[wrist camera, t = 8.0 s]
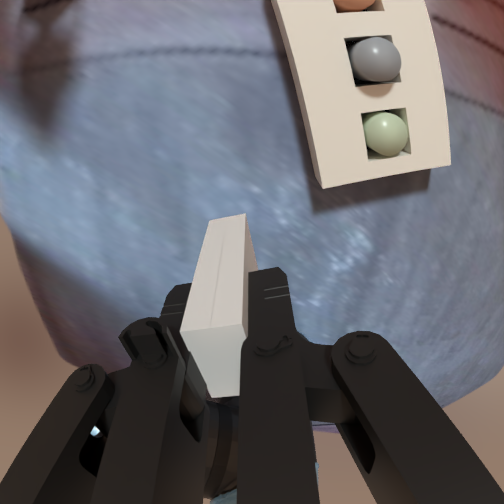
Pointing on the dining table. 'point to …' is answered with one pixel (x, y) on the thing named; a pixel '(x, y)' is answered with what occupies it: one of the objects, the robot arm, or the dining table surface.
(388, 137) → the sage button
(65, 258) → the dining table surface
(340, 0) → the terracotta button
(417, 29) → the button panel
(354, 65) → the grey button
